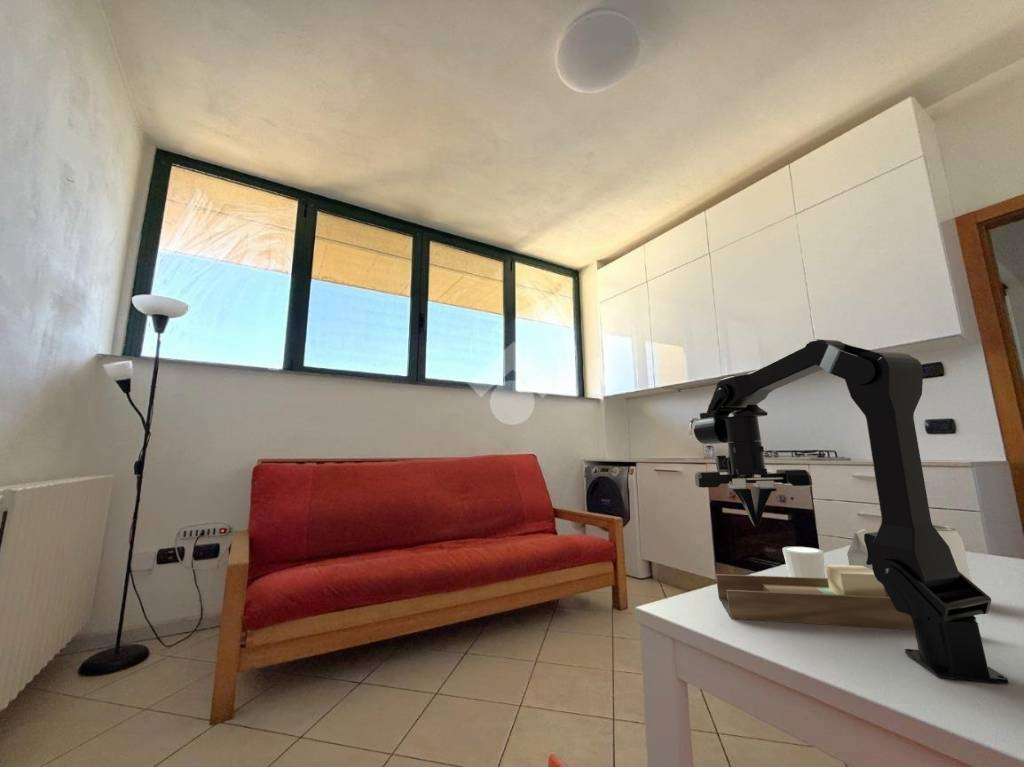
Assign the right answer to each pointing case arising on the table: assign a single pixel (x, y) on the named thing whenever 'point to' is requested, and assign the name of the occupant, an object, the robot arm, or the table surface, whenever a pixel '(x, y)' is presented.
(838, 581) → the maple block
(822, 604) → the tray
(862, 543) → the white gable top carton
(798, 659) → the table surface
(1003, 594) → the table surface
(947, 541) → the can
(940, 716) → the table surface
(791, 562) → the white cup
